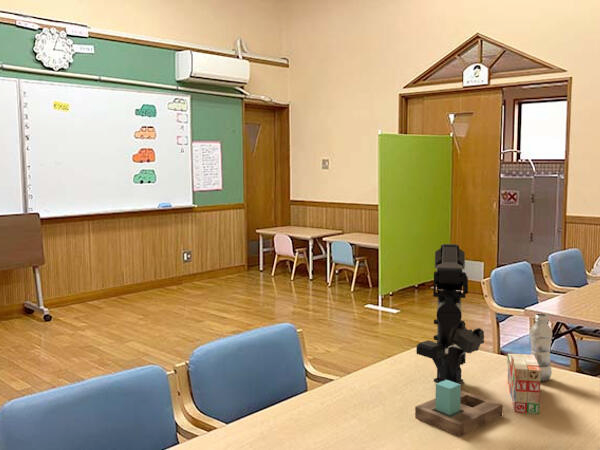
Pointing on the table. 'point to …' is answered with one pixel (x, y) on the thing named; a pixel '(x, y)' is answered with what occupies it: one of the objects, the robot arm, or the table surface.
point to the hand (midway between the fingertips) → (448, 376)
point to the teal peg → (448, 398)
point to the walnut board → (461, 414)
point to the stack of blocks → (524, 383)
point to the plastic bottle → (541, 344)
